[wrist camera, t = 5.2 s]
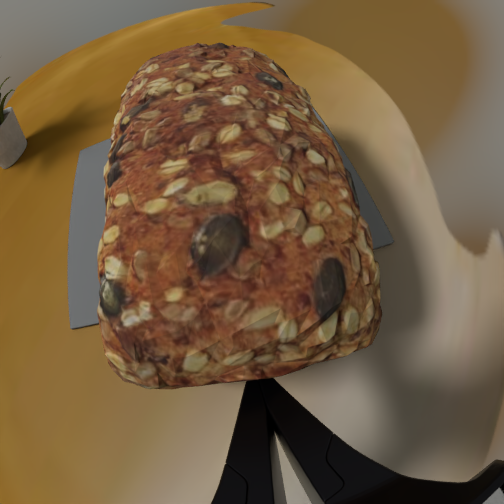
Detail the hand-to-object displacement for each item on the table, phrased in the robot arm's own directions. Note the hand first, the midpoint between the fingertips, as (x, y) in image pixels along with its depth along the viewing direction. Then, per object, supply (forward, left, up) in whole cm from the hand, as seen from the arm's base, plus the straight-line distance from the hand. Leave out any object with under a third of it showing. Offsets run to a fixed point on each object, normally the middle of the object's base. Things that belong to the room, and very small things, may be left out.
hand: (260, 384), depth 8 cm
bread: (+10, -1, -7) cm, 12 cm away
